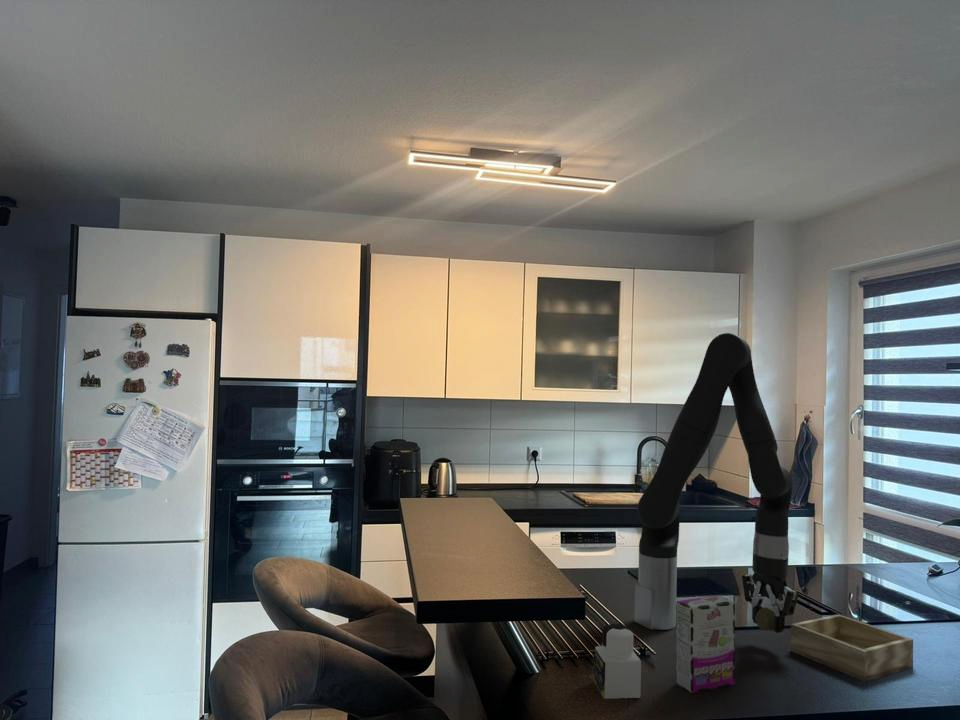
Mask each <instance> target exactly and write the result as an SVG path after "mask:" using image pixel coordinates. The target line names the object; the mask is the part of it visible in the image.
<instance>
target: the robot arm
mask: <svg viewBox="0 0 960 720" xmlns="http://www.w3.org/2000/svg"><path fill="white" fill-rule="evenodd" d="M751 349H752V348H751V347H750V345H749V344H748V342H747V341H746V340H745V339H743V338H742V337H740V336H739V335H737V334H736V333H735V334H734V333H731V332H724V333H721V334H719V335H717V336H715V337H714V338H713V339H712V340H711V341H710V342H709V344H708V346H707V348H706V351H705V354H704V358H703V360H702V363H701V367H700V369H699V372H698V376H697V378H696V379H695V384H694V385H693V386H692V389H691V391H690V392H689V394H688V396H687V398H686V400H685V402H684V404H683V406H682V408H681V410H680V412H679V415H678V416H677V418H676V421H675V423H674V424H673V427H672V429H671V432H670V435H669V437H668V440H667V442H666V445H665V447H664V450H663V453H662V456H661V459H660V462H659V465H658V466H657V469H656V471H655V473H654V474H653V477H652V478H651V481H650V482H649V484H648V485H647V487H646V489H645V490H644V492H643V494H642V495H641V497H640V499H639V500H638V504H637V515H638V518H639V520H640V521H641V523H642V525H641V534H640V539H639V543H638V575H637V576H638V579H637V580H638V582H636V583H635V585H634V617H633V618H634V623H637V624H639V625H640V626H642V627H644V628H646V629H648V630H661V631H662V630H664V631H665V630H672V629H675V627H676V601H677V584H678V583H677V581H678V580H677V578H678V577H677V574H678V547H679V539H680V522H681V521H680V520H681V519H680V515H681V511H680V510H681V509H680V502H679V500H680V497H681V494H682V492H683V489H684V487H685V485H686V483H687V481H688V479H689V478H690V476H691V474H692V473H693V472H694V470H695V469H696V468H697V466H698V465H699V463H700V462H701V460H702V458H703V457H704V455H705V453H706V451H707V449H708V447H709V445H710V443H711V440H712V438H713V437H714V434H715V432H716V430H717V426H718V424H719V420H720V417H721V416H720V415H721V411H722V407H723V401H724V398H725V395H726V392H727V391H728V388H729V390H730V395H731V398H732V402H733V407H734V411H735V419H736V423H737V426H738V427H737V428H738V431H739V433H740V436H741V439H742V440H741V441H742V443H743V445H744V447H745V451H746V453H747V458H748V465H749V467H748V468H749V471H750V477H751V481H752V483H753V485H754V487H755V490H756V491H757V493H759V494H760V496H759V497H760V498H759V505H758V507H757V509H756V511H755V519H754V520H755V522H754V523H755V524H754V537H753V540H752V541H753V544H752V565H751V567H752V568H751V569H752V571H753V574H751V573H750V574H744V575H742V576H741V579H742V586H743V594H744V595H743V596H744V600H745V601H746V602H747V603H750V605H751V607H752V613H751V614H752V615H751V619H752V622H753V624H755V625H757V623H756V614H757V612H758V611H759V610H760V609H762V608H764V607H763V604H764V601H765V599H769V602H770V604H771V606H772V608H773V610H774V612H775V615H774V630H773V633H776V634H778V633H782V632H783V631H784V630H785V624H786V619H785V618H786V617H788V616H793V615H794V614H795V610H796V606H797V602H798V598H799V591H798V590H794V589H792V588H790V587H788V583H787V577H788V575H789V553H790V551H789V549H790V546H789V545H790V544H789V511H790V506H791V500H792V495H793V478H792V476H791V473H790V472H789V470H787V469H786V468H785V467H783V466H781V464H780V460H779V457H778V453H777V452H778V442H777V439H776V436H775V434H774V430H773V428H772V424H771V422H770V420H769V416H768V414H767V411H766V409H765V407H764V404H763V401H762V398H761V395H760V392H759V389H758V385H757V382H756V377H755V372H754V366H753V358H752V350H751Z"/></svg>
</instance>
